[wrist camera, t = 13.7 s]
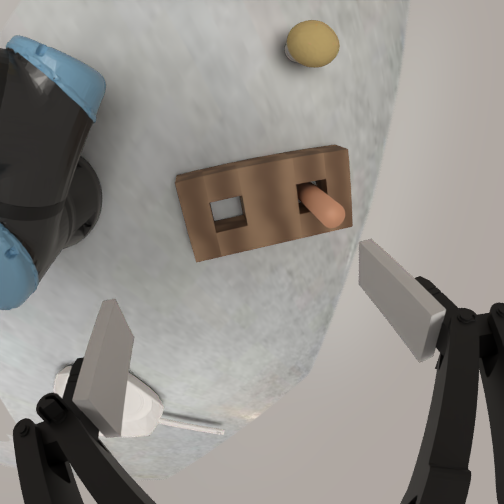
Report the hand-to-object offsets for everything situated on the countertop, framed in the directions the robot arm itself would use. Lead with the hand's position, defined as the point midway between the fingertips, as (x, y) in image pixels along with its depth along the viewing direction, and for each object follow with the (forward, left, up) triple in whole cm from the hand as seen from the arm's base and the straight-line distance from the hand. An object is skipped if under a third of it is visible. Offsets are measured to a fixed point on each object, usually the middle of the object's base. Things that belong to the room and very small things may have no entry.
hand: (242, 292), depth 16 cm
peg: (+13, -6, -32) cm, 35 cm away
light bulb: (+15, +15, -32) cm, 38 cm away
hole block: (+7, -6, -32) cm, 33 cm away
